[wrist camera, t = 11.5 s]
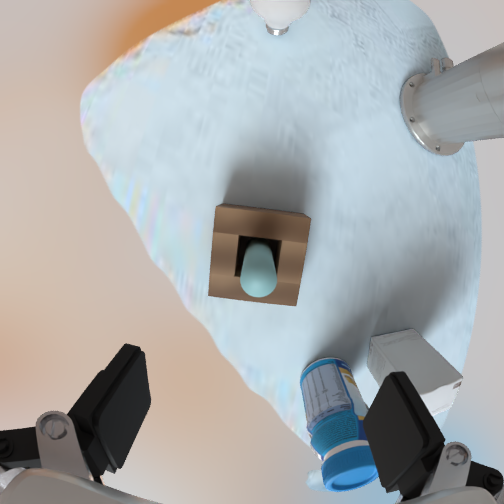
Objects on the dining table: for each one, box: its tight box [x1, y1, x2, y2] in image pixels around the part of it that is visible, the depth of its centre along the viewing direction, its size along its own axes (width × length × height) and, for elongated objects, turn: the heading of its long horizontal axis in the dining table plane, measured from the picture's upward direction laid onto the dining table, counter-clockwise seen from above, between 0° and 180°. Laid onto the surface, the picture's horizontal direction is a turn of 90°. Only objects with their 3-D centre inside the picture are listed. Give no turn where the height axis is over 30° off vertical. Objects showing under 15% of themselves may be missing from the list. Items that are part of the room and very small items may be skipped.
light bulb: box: [250, 0, 310, 35], centre depth 22 cm, size 7×7×11 cm
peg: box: [240, 237, 277, 297], centre depth 28 cm, size 3×3×12 cm
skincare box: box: [367, 328, 463, 416], centre depth 30 cm, size 8×6×15 cm
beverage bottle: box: [300, 357, 379, 492], centre depth 29 cm, size 8×8×20 cm
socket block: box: [208, 204, 311, 306], centre depth 32 cm, size 10×10×5 cm
